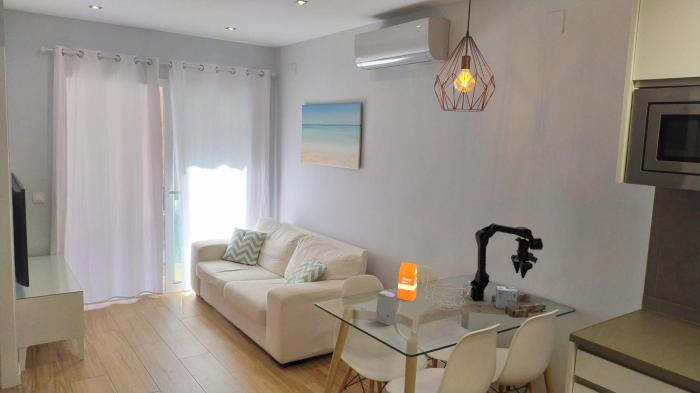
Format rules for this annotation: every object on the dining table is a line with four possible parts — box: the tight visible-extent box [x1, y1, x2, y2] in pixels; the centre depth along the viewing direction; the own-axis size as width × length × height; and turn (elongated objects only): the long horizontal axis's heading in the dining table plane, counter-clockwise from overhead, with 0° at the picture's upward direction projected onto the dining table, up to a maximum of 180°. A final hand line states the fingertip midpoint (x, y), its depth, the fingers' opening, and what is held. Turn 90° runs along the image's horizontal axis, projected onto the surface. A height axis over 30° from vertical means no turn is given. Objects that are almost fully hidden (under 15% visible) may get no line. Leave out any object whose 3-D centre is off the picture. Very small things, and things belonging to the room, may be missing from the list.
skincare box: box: [375, 289, 398, 326], centre depth 248 cm, size 8×6×15 cm
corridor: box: [491, 293, 547, 318], centre depth 276 cm, size 23×23×4 cm
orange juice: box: [397, 262, 418, 302], centre depth 284 cm, size 8×9×20 cm
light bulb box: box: [494, 285, 519, 310], centre depth 277 cm, size 11×7×11 cm, turn 84°
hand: (519, 275), depth 289 cm, fingers open, 9 cm apart
